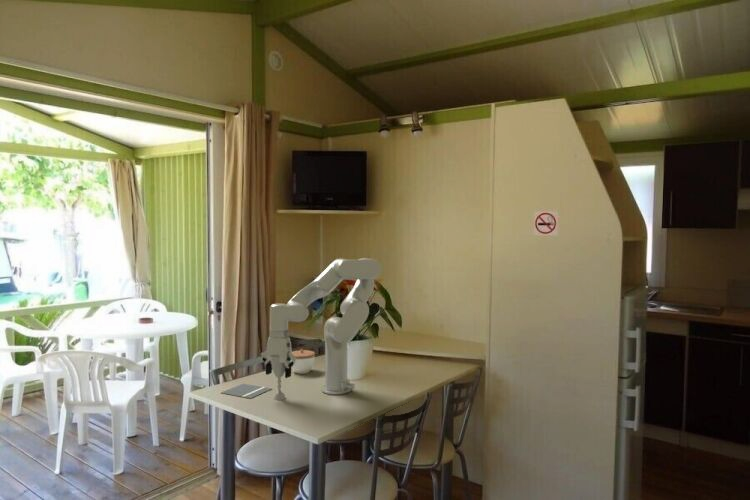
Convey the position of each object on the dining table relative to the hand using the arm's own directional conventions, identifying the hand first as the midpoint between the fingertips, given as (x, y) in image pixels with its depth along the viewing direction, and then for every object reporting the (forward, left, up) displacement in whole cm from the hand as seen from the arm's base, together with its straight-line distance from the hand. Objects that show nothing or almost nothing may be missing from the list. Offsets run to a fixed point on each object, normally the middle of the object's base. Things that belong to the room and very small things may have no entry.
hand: (278, 375), depth 206 cm
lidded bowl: (+14, -37, -10) cm, 41 cm away
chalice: (0, 0, -10) cm, 10 cm away
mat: (+18, -1, -9) cm, 20 cm away
